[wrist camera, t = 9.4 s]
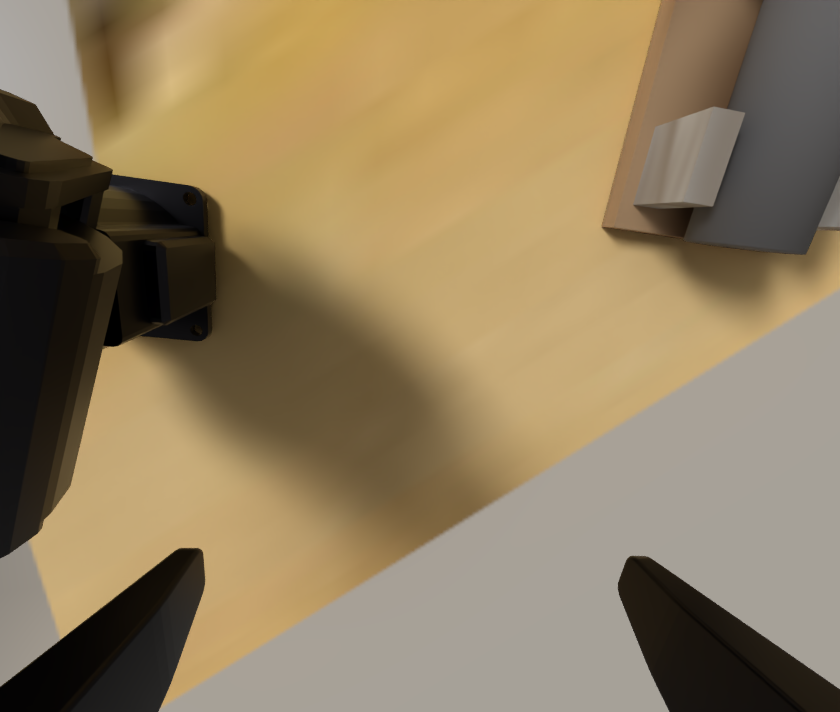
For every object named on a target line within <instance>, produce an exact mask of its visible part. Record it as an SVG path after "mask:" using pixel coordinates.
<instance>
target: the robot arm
mask: <svg viewBox="0 0 840 712" xmlns="http://www.w3.org/2000/svg"><path fill="white" fill-rule="evenodd" d="M60 140H61V138H60V137H58V136H55V135H54V134H53V132H52V130H51V129H50V127H49V126H48V124H47V122H46V121H45V119H44V117H43V116H42V114H41V113H40V111H39V109H38V108H37V106H36V105H35V104H33V103H31V102H29V101H26V100H24V99H22V98H20V97H18V96H16V95H13V94H11V93H9V92H6V91H3V90H1V89H0V558H2V557H4V556H6V555H8V554H10V553H11V552H12V551H14V550H15V549H17V548H18V547H19V546H21V545H22V544H23V543H25V542H26V541H28V540H29V539H31V538H32V537H33V536H35V535H36V534H38V532H39V531H40V530H41V529H42V526H43V521H44V519H45V518H46V517H47V516H48V515H49V514H51V512H52V511H53V510H54V508H55V507H56V505H57V504H58V503H59V501H60V500H61V498H62V497H63V496H64V494H65V493H66V491H67V490H68V489H69V487H70V485H71V481H72V477H73V473H74V468H75V464H76V460H77V455H78V451H79V447H80V443H81V438H82V434H83V430H84V426H85V421H86V417H87V413H88V408H89V404H90V400H91V396H92V391H93V387H94V383H95V379H96V374H97V370H98V366H99V361H100V357H101V353H102V349H104V348H107V347H109V346H111V347H114V346H119V345H121V344H123V343H125V342H127V341H130V340H132V339H134V338H136V337H138V336H148V337H159V338H169V339H180V340H190V341H202V340H204V339H206V338H207V337H209V336H210V334H211V332H212V317H211V303H213V302H214V301H215V300H216V272H215V244H214V242H213V241H212V240H211V238H210V237H208V212H207V198H206V195H205V194H204V192H203V191H202V190H201V189H199V188H197V187H194V186H189V185H182V184H175V183H168V182H161V181H154V180H147V179H140V178H133V177H126V176H119V175H112V171H113V170H112V169H111V168H108V167H106V166H104V165H102V164H100V163H97V162H95V161H93V160H92V158H93V157H92V156H90V155H88V154H86V153H84V152H82V151H80V150H78V149H76V148H74V147H72V146H70V145H68V144H66V143H64V142H62V141H60ZM190 193H193V194H194V195H195V196H196V203H195V204H194V205H191V204H190V203H189V202H188V195H189V194H190ZM195 325H198V326H200V327H201V328H202V333H201V334H200V333H198V332H196V331H195V328H194V327H195ZM204 586H205V571H204V558H203V552H202V550H201V549H199V548H180V549H177V550H176V551H174V552H173V553H172V554H170V555H169V556H168V557H166V558H165V559H164V560H163V561H161V562H160V563H159V564H157V565H156V566H155V567H154V568H152V569H151V570H150V571H148V572H147V573H146V574H145V575H143V576H142V577H141V578H139V579H138V580H137V581H136V582H134V583H133V584H132V585H130V586H129V587H128V588H127V589H125V590H124V591H123V592H121V593H120V594H119V595H118V596H116V597H115V598H114V599H112V600H111V601H110V602H109V603H107V604H106V605H105V606H103V607H102V608H101V609H100V610H98V611H97V612H96V613H94V614H93V615H92V616H91V617H89V618H88V619H87V620H85V621H84V622H83V623H82V624H80V625H79V626H78V627H76V628H75V629H74V630H73V631H71V632H70V633H69V634H67V635H66V636H65V637H64V638H62V639H61V640H60V641H58V642H57V643H56V644H55V645H54V646H52V647H51V648H50V649H48V650H47V651H46V652H44V653H43V654H42V655H40V656H39V657H38V658H37V659H35V660H34V661H33V662H31V663H30V664H29V665H28V666H26V667H25V668H24V669H22V670H21V671H20V672H19V673H17V674H16V675H15V676H14V677H12V678H11V679H10V680H8V681H7V682H6V683H4V684H3V685H2V686H1V687H0V712H158V711H159V709H160V707H161V705H162V703H163V700H164V698H165V696H166V693H167V691H168V689H169V686H170V684H171V681H172V679H173V676H174V673H175V671H176V668H177V665H178V662H179V659H180V657H181V654H182V651H183V648H184V645H185V642H186V640H187V637H188V634H189V631H190V628H191V625H192V623H193V620H194V617H195V614H196V611H197V608H198V606H199V603H200V600H201V597H202V594H203V591H204ZM618 591H619V595H620V598H621V601H622V603H623V606H624V608H625V611H626V613H627V616H628V618H629V621H630V623H631V626H632V628H633V631H634V633H635V636H636V638H637V641H638V643H639V646H640V648H641V651H642V653H643V656H644V658H645V661H646V663H647V665H648V668H649V670H650V672H651V675H652V677H653V679H654V681H655V683H656V685H657V687H658V689H659V691H660V693H661V695H662V697H663V699H664V701H665V704H666V705H667V707H668V710H669V712H840V689H839V688H837V687H835V686H834V685H833V684H831V683H830V682H828V681H827V680H826V679H824V678H823V677H821V676H820V675H818V674H817V673H815V672H814V671H813V670H811V669H810V668H808V667H807V666H805V665H804V664H803V663H801V662H800V661H798V660H796V659H795V658H794V657H792V656H791V655H790V654H788V653H787V652H785V651H784V650H782V649H781V648H779V647H778V646H777V645H775V644H774V643H772V642H771V641H769V640H768V639H766V638H765V637H764V636H762V635H761V634H759V633H758V632H756V631H755V630H754V629H752V628H751V627H749V626H748V625H746V624H745V623H743V622H742V621H741V620H739V619H738V618H736V617H735V616H733V615H732V614H730V613H729V612H727V611H726V610H725V609H723V608H722V607H720V606H719V605H717V604H716V603H715V602H713V601H712V600H710V599H709V598H707V597H706V596H705V595H703V594H702V593H700V592H699V591H697V590H696V589H694V588H693V587H691V586H690V585H689V584H687V583H686V582H684V581H683V580H681V579H680V578H679V577H677V576H676V575H674V574H673V573H671V572H670V571H668V570H667V569H666V568H664V567H663V566H661V565H660V564H658V563H657V562H655V561H654V560H652V559H651V558H649V557H646V556H630V557H629V558H628V559H627V560H626V563H625V565H624V568H623V571H622V573H621V576H620V579H619V582H618Z"/></svg>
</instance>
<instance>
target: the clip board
mask: <svg viewBox="0 0 840 712" xmlns="http://www.w3.org/2000/svg"><path fill="white" fill-rule="evenodd" d="M762 2H763V0H662V1H661V5H660V9H659V12H658V16H657V20H656V24H655V27H654V31H653V35H652V39H651V42H650V46H649V50H648V54H647V58H646V61H645V65H644V69H643V73H642V76H641V80H640V84H639V88H638V91H637V95H636V99H635V103H634V106H633V110H632V114H631V118H630V122H629V125H628V129H627V133H626V137H625V140H624V144H623V148H622V152H621V155H620V159H619V163H618V167H617V171H616V174H615V178H614V182H613V186H612V189H611V193H610V197H609V201H608V204H607V208H606V212H605V216H604V219H603V223H602V227H606V228H613V229H620V230H627V231H633V232H640V233H647V234H654V235H661V236H667V237H674V238H681V239H684V236H685V233H686V230H687V227H688V224H689V221H690V218H691V215H692V212H693V209H694V207H713V205H714V202H715V199H716V196H717V193H718V190H719V188H720V185H721V182H722V179H723V176H724V173H725V170H726V167H727V164H728V162H729V159H730V156H731V153H732V150H733V147H734V144H735V141H736V138H737V136H738V133H739V130H740V127H741V124H742V121H743V118H744V115H745V113H744V112H739V111H734V110H729V109H727V107H728V104H729V101H730V98H731V95H732V92H733V89H734V86H735V83H736V80H737V77H738V74H739V71H740V68H741V65H742V62H743V59H744V56H745V53H746V50H747V47H748V44H749V41H750V38H751V35H752V32H753V29H754V26H755V23H756V20H757V17H758V14H759V11H760V8H761V5H762ZM817 230H836V231H840V177H839V179H838V181H837V184H836V186H835V188H834V191H833V193H832V195H831V198H830V200H829V202H828V204H827V207H826V209H825V211H824V214H823V216H822V218H821V221H820V223H819V225H818V228H817Z"/></svg>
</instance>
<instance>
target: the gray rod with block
mask: <svg viewBox="0 0 840 712" xmlns="http://www.w3.org/2000/svg"><path fill="white" fill-rule="evenodd" d="M727 109H729V110H734V111H739V112H744V113H745V115H744V118H743V121H742V124H741V127H740V130H739V133H738V136H737V138H736V141H735V144H734V147H733V150H732V153H731V156H730V159H729V162H728V164H727V167H726V170H725V173H724V176H723V179H722V182H721V185H720V188H719V190H718V193H717V196H716V199H715V202H714V205H713V207H694V209H693V212H692V215H691V218H690V221H689V224H688V227H687V230H686V233H685V236H684V239H683V241H687V242H692V243H698V244H704V245H712V246H719V247H727V248H735V249H744V250H753V251H763V252H773V253H784V254H800V255H805V254H806V253H807V251H808V248H809V246H810V244H811V241H812V239H813V237H814V234H815V232H816V230H817V228H818V225H819V223H820V221H821V218H822V216H823V214H824V211H825V209H826V207H827V204H828V202H829V200H830V198H831V195H832V193H833V191H834V188H835V186H836V184H837V181H838V179H839V177H840V0H763V2H762V5H761V8H760V11H759V14H758V17H757V20H756V23H755V26H754V29H753V32H752V35H751V38H750V41H749V44H748V47H747V50H746V53H745V56H744V59H743V62H742V65H741V68H740V71H739V74H738V77H737V80H736V83H735V86H734V89H733V92H732V95H731V98H730V101H729V104H728V107H727Z"/></svg>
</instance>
